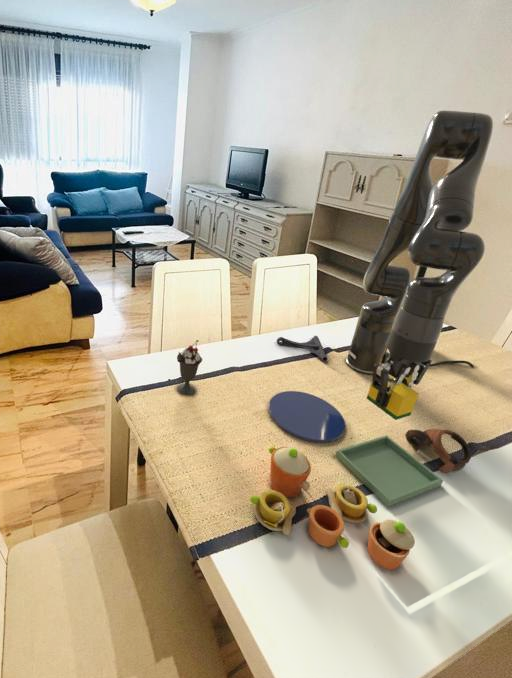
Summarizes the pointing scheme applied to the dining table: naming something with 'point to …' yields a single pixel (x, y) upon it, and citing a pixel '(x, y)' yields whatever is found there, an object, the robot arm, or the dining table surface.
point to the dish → (388, 470)
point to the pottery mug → (439, 446)
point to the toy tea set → (327, 511)
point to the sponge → (396, 400)
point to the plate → (306, 416)
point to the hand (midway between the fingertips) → (389, 402)
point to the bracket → (306, 346)
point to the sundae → (188, 368)
